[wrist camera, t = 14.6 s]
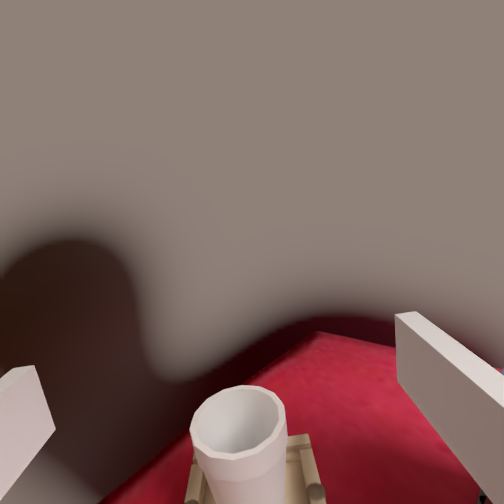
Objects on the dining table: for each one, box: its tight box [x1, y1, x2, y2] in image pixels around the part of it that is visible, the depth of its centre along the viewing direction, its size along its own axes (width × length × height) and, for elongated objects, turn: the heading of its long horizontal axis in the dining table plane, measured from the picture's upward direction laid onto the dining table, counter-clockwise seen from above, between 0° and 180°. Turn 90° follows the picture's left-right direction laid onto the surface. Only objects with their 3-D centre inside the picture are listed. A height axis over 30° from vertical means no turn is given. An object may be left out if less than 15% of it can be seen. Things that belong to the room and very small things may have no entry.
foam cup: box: [190, 385, 288, 504], centre depth 31 cm, size 10×9×13 cm
